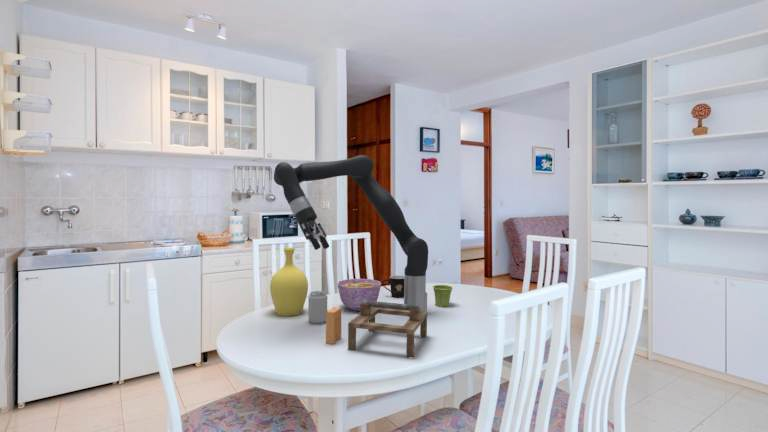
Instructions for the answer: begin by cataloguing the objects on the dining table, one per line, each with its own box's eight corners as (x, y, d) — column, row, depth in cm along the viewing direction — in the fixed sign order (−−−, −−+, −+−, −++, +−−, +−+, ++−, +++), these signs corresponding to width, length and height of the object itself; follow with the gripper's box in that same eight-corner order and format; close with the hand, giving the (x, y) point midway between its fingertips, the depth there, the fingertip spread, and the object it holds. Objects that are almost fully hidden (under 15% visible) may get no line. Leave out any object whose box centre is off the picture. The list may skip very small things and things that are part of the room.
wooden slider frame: (348, 349, 140) (348, 307, 139) (370, 329, 161) (370, 293, 160) (412, 357, 133) (413, 314, 133) (426, 336, 154) (427, 298, 154)
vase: (273, 319, 172) (273, 251, 171) (267, 309, 187) (267, 246, 186) (311, 315, 179) (312, 249, 177) (303, 306, 193) (303, 245, 192)
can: (323, 324, 166) (323, 294, 165) (305, 323, 168) (305, 293, 167) (329, 319, 173) (329, 290, 173) (312, 318, 175) (312, 289, 174)
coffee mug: (408, 295, 216) (408, 276, 216) (403, 299, 208) (403, 279, 208) (386, 293, 220) (387, 274, 220) (381, 297, 212) (381, 277, 212)
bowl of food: (384, 303, 199) (385, 279, 199) (376, 315, 180) (376, 288, 179) (343, 301, 203) (343, 277, 202) (331, 312, 183) (331, 286, 182)
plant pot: (455, 304, 199) (455, 286, 199) (447, 309, 192) (447, 290, 191) (437, 301, 204) (437, 284, 204) (428, 305, 197) (429, 287, 196)
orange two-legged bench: (325, 343, 146) (326, 311, 145) (333, 337, 152) (333, 307, 151) (333, 344, 145) (334, 312, 144) (341, 338, 151) (341, 307, 150)
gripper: (302, 204, 152) (323, 243, 149) (318, 207, 166) (337, 242, 163) (286, 215, 153) (306, 254, 151) (303, 216, 167) (322, 252, 165)
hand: (322, 248), depth 157 cm, fingers open, 8 cm apart
